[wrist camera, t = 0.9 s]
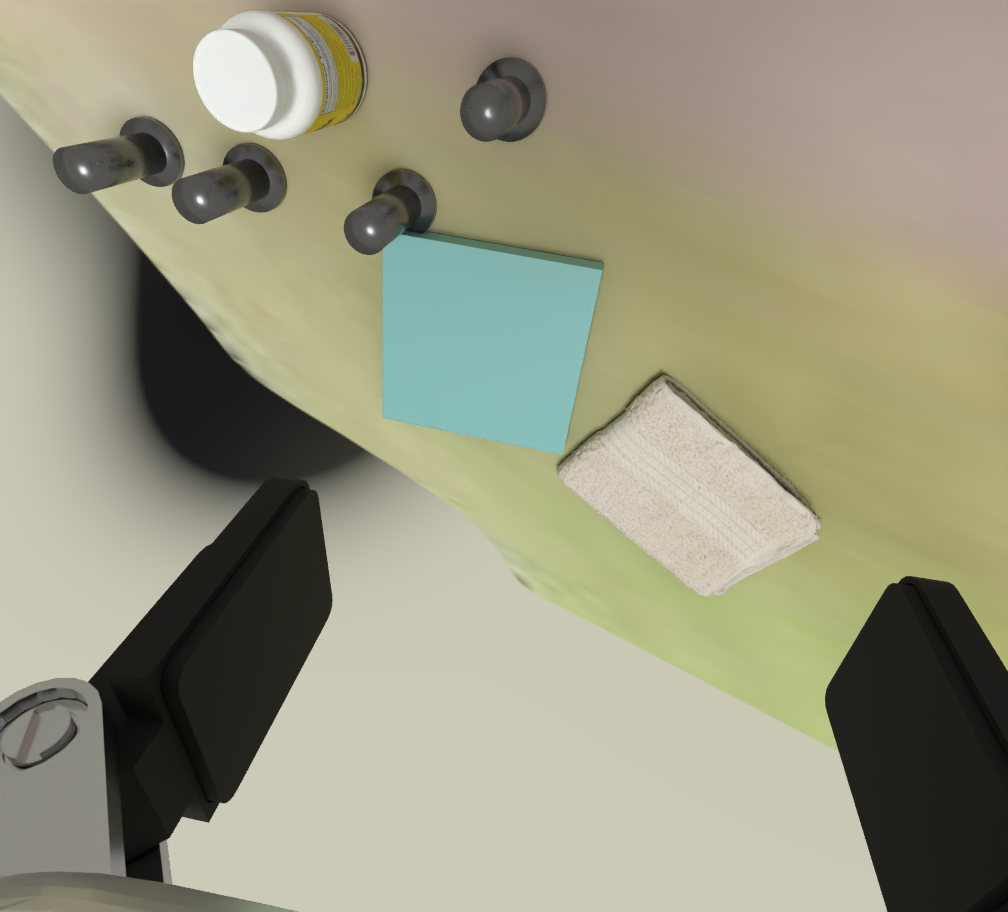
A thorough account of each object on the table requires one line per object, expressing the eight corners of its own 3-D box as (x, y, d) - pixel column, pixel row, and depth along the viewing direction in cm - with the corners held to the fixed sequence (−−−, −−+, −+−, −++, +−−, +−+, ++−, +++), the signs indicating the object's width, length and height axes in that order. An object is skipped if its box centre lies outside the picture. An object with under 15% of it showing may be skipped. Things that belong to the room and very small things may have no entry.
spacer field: (57, -164, 31) (-73, -209, 25) (573, -97, 29) (557, -130, 23) (136, 187, 41) (55, 211, 35) (525, 257, 39) (505, 294, 33)
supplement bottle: (283, 114, 37) (185, 135, 29) (278, 4, 33) (165, -6, 26) (368, 132, 36) (293, 159, 28) (371, 23, 33) (287, 19, 25)
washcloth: (707, 585, 52) (710, 612, 50) (551, 463, 48) (546, 486, 46) (830, 512, 46) (841, 539, 43) (662, 364, 42) (664, 384, 39)
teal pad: (390, 225, 39) (382, 231, 38) (603, 262, 38) (602, 270, 37) (389, 408, 47) (382, 417, 46) (564, 443, 46) (562, 454, 45)
